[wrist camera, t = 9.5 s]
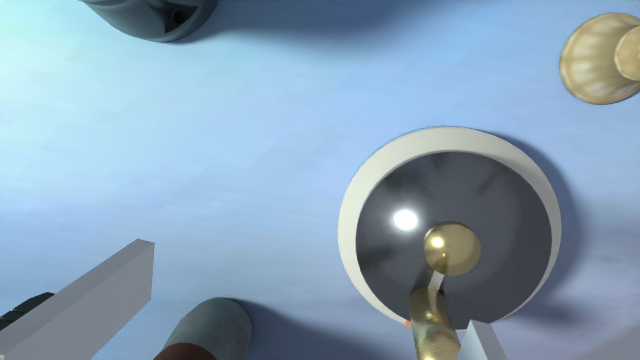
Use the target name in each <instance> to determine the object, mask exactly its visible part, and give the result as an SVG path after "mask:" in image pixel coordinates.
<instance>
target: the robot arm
mask: <svg viewBox="0 0 640 360" xmlns="http://www.w3.org/2000/svg"><path fill="white" fill-rule="evenodd" d="M80 1H83V2H84V3H85V4H87V5H88V6H89V7H90V8H91V9H92V10H94V11H95V12H96V13H97V14H98V15H99V16H100V17H102V18H103V19H104V20H105V21H106V22H108V23H109V24H110V25H112V26H113V27H114V28H116V29H118V30H120V31H121V32H123V33H125V34H128V35H130V36H133V37H137V38H140V39H144V40H148V41H154V42H168V41H174V40H177V39H180V38H183V37H185V36H187V35H189V34H191V33H192V32H194V31H195V30H196V29H198V28H199V27H200V26H201V25H202V24H203V23H204V22H205V21H206V20H207V18H208V17H209V16H210V14H211V13H212V11H213V9H214V8H215V6H216V4H217V1H218V0H80ZM154 245H155V243H153V242H149V241H145V240H141V239H136V240H135V241H133V242H132V243H130V244H129V245H127V246H126V247H124V248H123V249H122V250H120V251H119V252H117V253H116V254H114V255H113V256H111V257H110V258H108V259H107V260H105V261H104V262H102V263H101V264H99V265H98V266H96V267H95V268H93V269H92V270H90V271H89V272H87V273H86V274H84V275H83V276H81V277H80V278H79V279H77V280H76V281H74V282H73V283H71V284H70V285H68V286H67V287H65V288H64V289H62V290H61V291H59V292H58V293H56V294H53V293H50V292H46V293H43V294H41V295H38V296H35V297H33V298H30V299H28V300H26V301H25V302H23V303H22V304H20V305H18V306H17V307H15V308H14V309H13V310H12V311H9V312H7V313H6V314H4V315H3V316H1V317H0V360H90V359H91V358H92V357H93V356H94V355H95V354H96V353H97V352H98V351H99V350H100V349H101V348H102V347H103V346H104V345H105V344H106V343H107V342H108V341H109V340H110V339H111V338H112V337H113V336H114V335H115V334H116V333H117V332H118V331H119V330H120V329H121V328H122V327H123V326H124V325H125V324H126V323H127V322H128V321H129V320H130V319H131V318H132V317H133V316H134V315H135V314H136V313H137V312H138V311H139V310H140V309H141V308H142V307H143V306H144V305H145V304H146V303H147V302H148V301H149V300H150V299H151V286H152V273H153V259H154ZM456 360H508V359H507V357H506V355H505V353H504V351H503V349H502V347H501V345H500V343H499V341H498V339H497V337H496V335H495V333H494V331H493V329H492V327H491V325H490V324H487V323H483V322H479V321H475V320H471V319H470V322H469V325H468V328H467V331H466V333H465V336H464V339H463V342H462V345H461V347H460V350H459V353H458V356H457V359H456Z"/></svg>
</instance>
